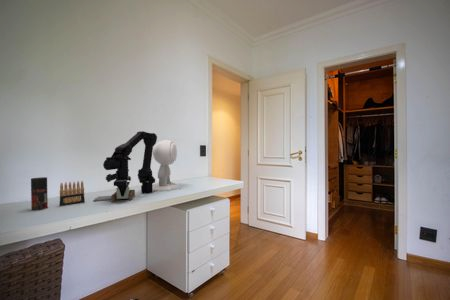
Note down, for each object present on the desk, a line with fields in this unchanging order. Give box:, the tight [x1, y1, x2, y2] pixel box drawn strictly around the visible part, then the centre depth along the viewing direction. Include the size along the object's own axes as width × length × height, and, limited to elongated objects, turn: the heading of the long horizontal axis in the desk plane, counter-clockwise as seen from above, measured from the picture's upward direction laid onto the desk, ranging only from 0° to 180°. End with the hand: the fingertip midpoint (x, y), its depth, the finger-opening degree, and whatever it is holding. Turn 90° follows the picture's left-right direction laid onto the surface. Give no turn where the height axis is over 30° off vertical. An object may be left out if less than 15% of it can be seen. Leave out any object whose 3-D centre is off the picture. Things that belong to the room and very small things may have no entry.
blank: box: [116, 186, 130, 200], centre depth 121 cm, size 6×4×6 cm, turn 106°
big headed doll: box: [152, 139, 181, 192], centre depth 154 cm, size 20×23×35 cm
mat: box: [92, 195, 112, 202], centre depth 122 cm, size 9×9×1 cm
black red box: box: [30, 176, 49, 211], centre depth 103 cm, size 6×6×15 cm
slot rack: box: [110, 189, 136, 203], centre depth 123 cm, size 10×14×4 cm
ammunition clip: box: [59, 180, 86, 207], centre depth 111 cm, size 11×2×12 cm, turn 132°
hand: (123, 195), depth 121 cm, fingers closed on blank, 4 cm apart
